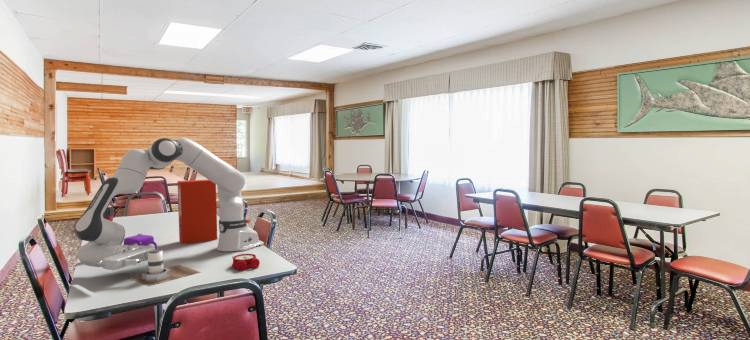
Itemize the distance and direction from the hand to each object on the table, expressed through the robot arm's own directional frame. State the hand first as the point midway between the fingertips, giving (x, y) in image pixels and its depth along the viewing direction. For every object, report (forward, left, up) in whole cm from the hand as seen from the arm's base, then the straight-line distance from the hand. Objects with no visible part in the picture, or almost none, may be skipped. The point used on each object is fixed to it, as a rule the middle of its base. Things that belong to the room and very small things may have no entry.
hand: (147, 258), depth 157 cm
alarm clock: (-32, +15, -9) cm, 37 cm away
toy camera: (-13, -36, -8) cm, 39 cm away
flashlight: (-3, -49, -8) cm, 50 cm away
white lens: (-1, +3, -7) cm, 8 cm away
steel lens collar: (-1, +3, -7) cm, 8 cm away
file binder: (-46, -46, -8) cm, 66 cm away
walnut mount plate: (-5, +2, -8) cm, 10 cm away
